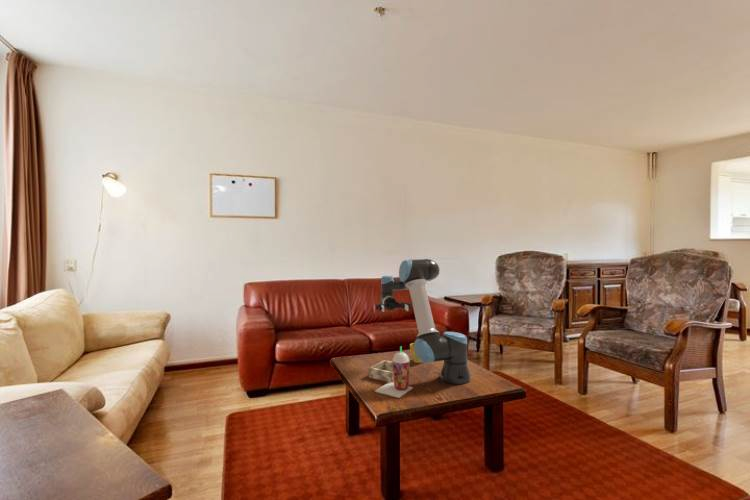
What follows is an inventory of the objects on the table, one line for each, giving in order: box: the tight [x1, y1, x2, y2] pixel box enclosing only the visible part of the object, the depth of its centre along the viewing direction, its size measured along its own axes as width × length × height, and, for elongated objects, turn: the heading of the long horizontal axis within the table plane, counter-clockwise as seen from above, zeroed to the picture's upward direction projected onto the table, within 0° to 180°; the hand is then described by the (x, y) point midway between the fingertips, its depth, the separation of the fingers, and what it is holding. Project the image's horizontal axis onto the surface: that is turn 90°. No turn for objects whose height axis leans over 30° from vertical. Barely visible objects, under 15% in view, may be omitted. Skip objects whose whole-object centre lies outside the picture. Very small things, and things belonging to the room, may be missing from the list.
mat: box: [374, 382, 414, 399], centre depth 175 cm, size 13×13×1 cm
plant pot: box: [409, 342, 424, 364], centre depth 216 cm, size 10×10×10 cm
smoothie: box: [391, 345, 411, 390], centre depth 176 cm, size 8×8×20 cm
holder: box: [368, 359, 394, 383], centre depth 193 cm, size 14×14×5 cm
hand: (395, 309), depth 205 cm, fingers open, 13 cm apart
